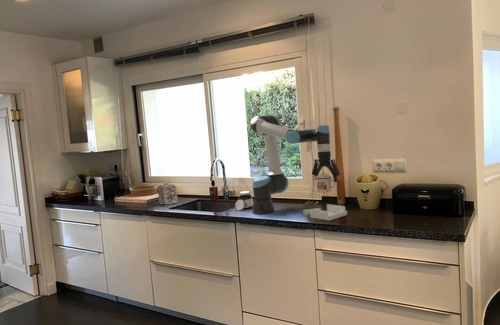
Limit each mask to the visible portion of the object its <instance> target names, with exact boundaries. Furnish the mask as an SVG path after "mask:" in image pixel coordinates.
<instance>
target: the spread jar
mask: <svg viewBox="0 0 500 325" xmlns="http://www.w3.org/2000/svg"><path fill="white" fill-rule="evenodd" d="M239 194H240V195H239V196H238V200H237V201H236V202H235V208H236V210H239V211H241V210H248V208H249V209H251V208H253V204H254V198H253V195H251V192H250V191H249V190H245V191H240V192H239Z"/></svg>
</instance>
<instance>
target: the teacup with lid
mask: <svg viewBox="0 0 500 325" xmlns="http://www.w3.org/2000/svg"><path fill="white" fill-rule="evenodd" d="M316 181H317V187H316V192H317V193H330V192H332V189H334V188H333V185H332V176H331V175H329V174H327V173H326V172H324V171H322V172H321V173H319V176H317V177H316ZM316 181H315V182H316Z"/></svg>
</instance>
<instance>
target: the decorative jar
mask: <svg viewBox="0 0 500 325" xmlns="http://www.w3.org/2000/svg"><path fill="white" fill-rule="evenodd" d="M157 192H158V193H157V194H158V203H162V204H171V203H176V202H178V200H179V199H178V190H177V187H176V185H175V183H170V181H165V182H163V184H161V185H159V186H158V187H157ZM176 204H177V203H176ZM171 205H172V204H171Z"/></svg>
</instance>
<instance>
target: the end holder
mask: <svg viewBox="0 0 500 325" xmlns="http://www.w3.org/2000/svg"><path fill="white" fill-rule="evenodd" d="M309 210H310V215H309V218H310V217H311V218H312V219H316V218H317V219H316V220H322V219H323V221H329V222H330V221H332V220H335V219H339V218H341V217H345V216H347V215H348V210H346V206H345V205H337V204H328V203H327V204H326V210H322V209H321V210H314V208H311V209H309ZM311 218H310V219H311Z"/></svg>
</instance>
